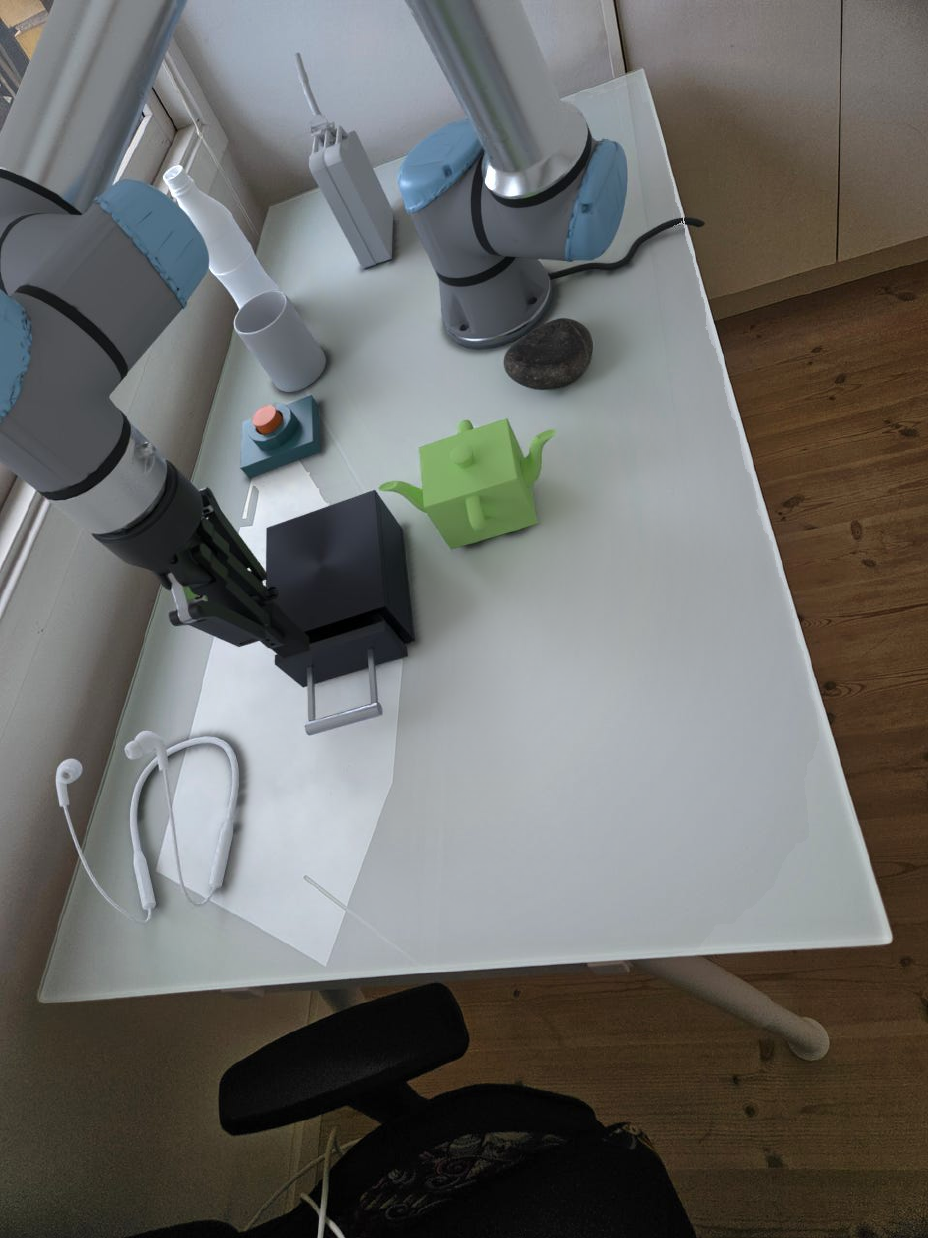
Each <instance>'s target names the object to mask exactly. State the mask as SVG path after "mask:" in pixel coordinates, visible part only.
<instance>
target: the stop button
mask: <svg viewBox="0 0 928 1238" xmlns="http://www.w3.org/2000/svg"><path fill="white" fill-rule="evenodd" d="M271 405H272V404H267V405H263V406H261V407H260V408H258V409H257V410H256V411H255V412H254V414H253V416H252V417H251V418H252V422H253V424H254V425H255V427H256V428H257V429H258V430H259V431H260V433H262V434H268V433H271V432H273V431H274V430H275V429H277V428H278V427H279V426H280V424H281V422H282V416H281V415H280V414H279V412H278V411H277V410H276V408H275V407H274V406H271Z"/></svg>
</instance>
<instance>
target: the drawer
mask: <svg viewBox="0 0 928 1238" xmlns="http://www.w3.org/2000/svg"><path fill="white" fill-rule="evenodd" d="M308 637H309V651H307V652H303V653H300V654H297V655H294V656H290V657H287V658H283V657H281V656H280V655H279V654H276V653H275V654H274V665H275V666H276V667H277V668H278V669H279V670H280V671H282V672H283V673H285V674H286V675H287V676H288V677H290V678H291V679H292V680H293V681H294V682H296V683H297V684H298V685H299V686H300V687H302V688H307V721H306V722H305V723H304V731H305V734H306V735H307V736H314V735H317V734H321V733H324V732H327V731H332V730H335V729H338V728H342V727H346V726H349V725H353V724H356V723H359V722H360V723H361V722H363V721H366V720H367V721H368V720H370V719H374V718H377V717H381V716H382V715H383V711H384V710H383V706H382V705H381V703H380V702H379V694H378V693H379V691H378V680H377V666H380V665H384V664H387V663H391V662H393V661H397V660H400V659H404V658H407V657H409V651H408V646H407V644H404V643H403V642H402V640H401V639H400V638H399V637H398V632H397V630H396V629H395V628H394V627H393V626H392V625H391V624H390V622H389V621H388V620H387V619H386V618H385V617H384V616H383V614H382V613H378V614H375V615H372V616H368V617H365V618H362V619H359V620H356V621H353V622H349V623H346V624H343V625H340V626H337V627H334V628H330V629H327V630H324V631H321V632H318V633H314V634H311V635H308ZM367 669H368V680H369V695H370V703H368V704H365V705H361V706H357V707H354V708H351V709H347V710H344V711H341V712H336V713H334V714H333V713H332V714H330V715H327V716H322V717H320V718H316V717H317V715H316V714H317V713H316V710H317V709H316V684H320V683H323V682H327V681H330V680H334V679H338V678H340V677H343V676H348V675H350V674H354V673H357V672H361V671H364V670H367Z"/></svg>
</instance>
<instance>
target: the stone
mask: <svg viewBox="0 0 928 1238" xmlns="http://www.w3.org/2000/svg"><path fill="white" fill-rule="evenodd" d="M593 351H594V343H593V339H592V335H591V332H590V331H589V329H588V328H587V327H586V326H585V325H584V324H583V323H581V322H580V321H578V320H575V319H572V318H567V317H559V318H556V319H553V320H550V321H548V322H546V323H544V324H541V325H540V326H538V327H535V328H534V329H533V330H532V329H531V330H530V331H528V332H527V333H525V334H524V335H522V336H521V337H519V338H518V339H517V340H516V341H515V342H513V344H511V346H510V347H509V348H508V349H507V350H506V352H505V354H504V357H503V368H504V371H505V373H506V375H507V376H508V377H509V378H510V379H511V380H512V381H514V382H515V383H517V384H518V385H521V386H523V387H525V388H528V389H532V390H539V391H549V390H550V391H551V390H559V389H562V388H565V387H568V386H570V385H572V384H574V383H575V382H577V381H578V380H579V379H580V378H581V377H582V376H583V374H584V373H585V372H586V371H587V369H588V367H589V365H590V363H591V360H592V357H593Z"/></svg>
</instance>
